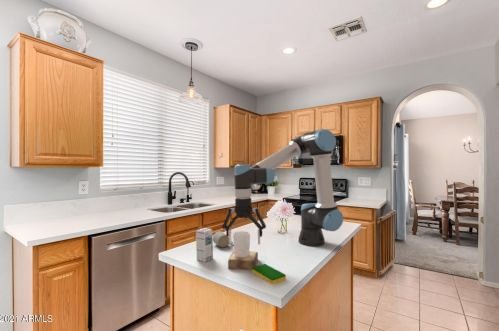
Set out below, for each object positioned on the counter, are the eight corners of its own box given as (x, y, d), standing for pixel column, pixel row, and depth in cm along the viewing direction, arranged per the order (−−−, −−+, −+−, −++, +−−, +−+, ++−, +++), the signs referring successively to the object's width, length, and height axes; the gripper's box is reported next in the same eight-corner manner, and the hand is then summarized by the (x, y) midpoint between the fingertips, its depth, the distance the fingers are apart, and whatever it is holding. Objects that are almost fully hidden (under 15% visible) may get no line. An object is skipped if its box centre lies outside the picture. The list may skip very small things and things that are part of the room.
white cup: (233, 252, 118) (232, 231, 118) (249, 252, 119) (249, 231, 119) (233, 258, 110) (233, 236, 110) (250, 258, 111) (250, 235, 111)
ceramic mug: (218, 249, 135) (218, 235, 136) (212, 245, 142) (212, 231, 143) (235, 246, 141) (235, 232, 141) (228, 242, 148) (229, 229, 148)
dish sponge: (264, 269, 110) (264, 263, 110) (286, 280, 98) (286, 274, 98) (251, 272, 106) (251, 267, 106) (272, 285, 94) (272, 279, 94)
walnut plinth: (257, 259, 120) (257, 251, 120) (255, 269, 108) (255, 260, 108) (233, 258, 121) (233, 250, 121) (228, 268, 109) (228, 259, 109)
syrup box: (205, 262, 117) (204, 231, 117) (196, 259, 120) (195, 229, 120) (213, 258, 122) (212, 228, 122) (204, 256, 125) (203, 227, 125)
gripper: (270, 196, 117) (271, 241, 117) (219, 196, 120) (220, 240, 120) (269, 198, 109) (271, 246, 109) (214, 199, 113) (216, 245, 113)
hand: (244, 243), depth 115 cm, fingers open, 13 cm apart
